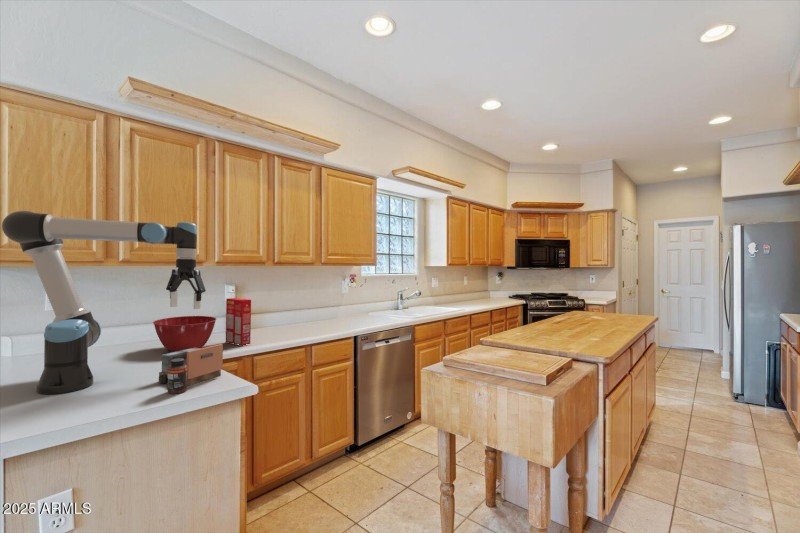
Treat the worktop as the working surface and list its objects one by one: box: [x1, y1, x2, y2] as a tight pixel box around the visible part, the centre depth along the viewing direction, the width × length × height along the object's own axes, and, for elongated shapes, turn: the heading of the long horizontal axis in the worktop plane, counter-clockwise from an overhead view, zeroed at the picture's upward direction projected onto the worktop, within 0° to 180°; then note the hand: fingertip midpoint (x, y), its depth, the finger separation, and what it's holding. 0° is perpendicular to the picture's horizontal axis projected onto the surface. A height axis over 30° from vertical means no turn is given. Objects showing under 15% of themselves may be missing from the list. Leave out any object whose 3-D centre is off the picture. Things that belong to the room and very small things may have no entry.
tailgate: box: [187, 343, 224, 379], centre depth 144 cm, size 15×2×10 cm, turn 156°
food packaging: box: [225, 297, 252, 346], centre depth 210 cm, size 15×5×25 cm, turn 58°
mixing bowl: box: [152, 315, 217, 353], centre depth 194 cm, size 28×28×15 cm
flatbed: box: [158, 348, 222, 387], centre depth 148 cm, size 19×14×10 cm
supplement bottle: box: [167, 358, 188, 395], centre depth 133 cm, size 6×6×11 cm
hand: (185, 307), depth 162 cm, fingers open, 13 cm apart
